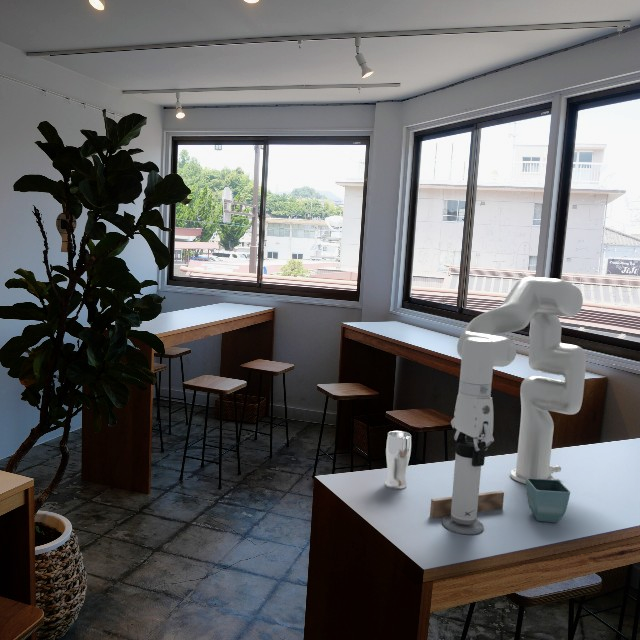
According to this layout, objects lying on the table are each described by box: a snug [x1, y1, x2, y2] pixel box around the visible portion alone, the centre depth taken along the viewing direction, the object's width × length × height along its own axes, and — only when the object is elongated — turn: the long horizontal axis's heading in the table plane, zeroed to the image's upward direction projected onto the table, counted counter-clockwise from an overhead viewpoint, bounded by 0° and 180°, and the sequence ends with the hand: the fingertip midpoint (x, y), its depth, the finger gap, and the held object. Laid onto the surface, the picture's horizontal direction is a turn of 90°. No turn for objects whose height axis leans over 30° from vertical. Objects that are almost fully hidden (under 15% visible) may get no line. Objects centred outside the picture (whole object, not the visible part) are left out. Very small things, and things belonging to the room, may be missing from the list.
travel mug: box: [451, 439, 482, 525], centre depth 153 cm, size 6×7×20 cm
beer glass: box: [384, 430, 412, 490], centre depth 178 cm, size 7×7×15 cm
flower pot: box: [525, 478, 571, 523], centre depth 162 cm, size 9×9×9 cm
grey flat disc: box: [441, 516, 485, 536], centre depth 155 cm, size 10×10×1 cm
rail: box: [429, 490, 505, 519], centre depth 163 cm, size 22×1×4 cm, turn 113°
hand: (468, 460), depth 153 cm, fingers closed on travel mug, 6 cm apart
